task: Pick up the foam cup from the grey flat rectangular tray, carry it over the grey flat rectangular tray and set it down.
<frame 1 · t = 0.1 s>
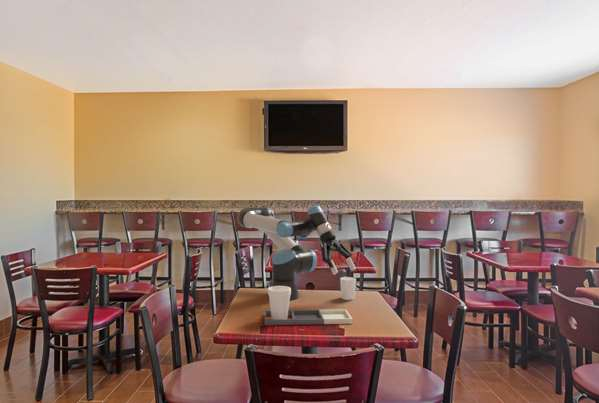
hand: (345, 271, 191), 15 cm above the table, tool tilted 35°, fingers open, 13 cm apart
white cup: (347, 298, 201), on the table
grey flat rectangular tray: (307, 319, 166), on the table
foam cup: (279, 320, 165), resting in grey flat rectangular tray
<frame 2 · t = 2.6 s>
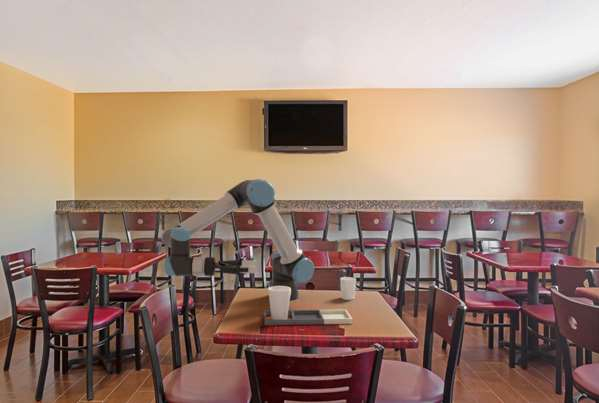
hand: (257, 266, 164), 22 cm above the table, tool horizontal, fingers open, 13 cm apart
nothing on the table moved.
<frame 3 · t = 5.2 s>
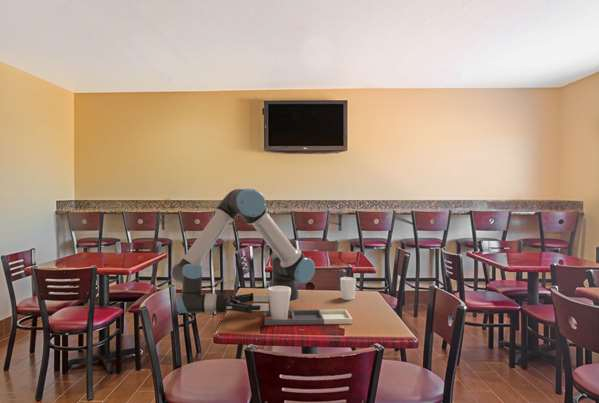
hand: (268, 302, 164), 7 cm above the table, tool horizontal, fingers open, 13 cm apart
nothing on the table moved.
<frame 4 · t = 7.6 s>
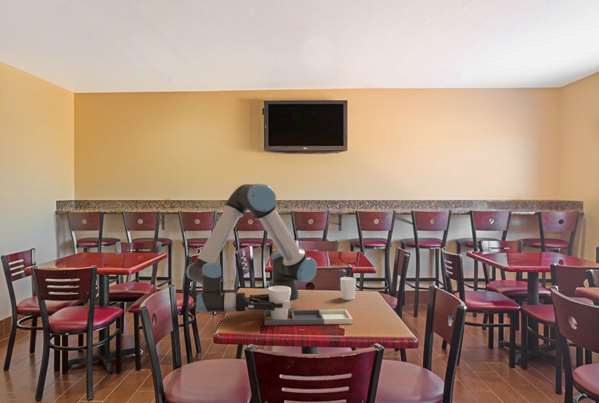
hand: (290, 301, 165), 8 cm above the table, tool horizontal, fingers closed on foam cup, 9 cm apart
foam cup: (279, 320, 165), resting in grey flat rectangular tray, touching gripper
everything else where it was.
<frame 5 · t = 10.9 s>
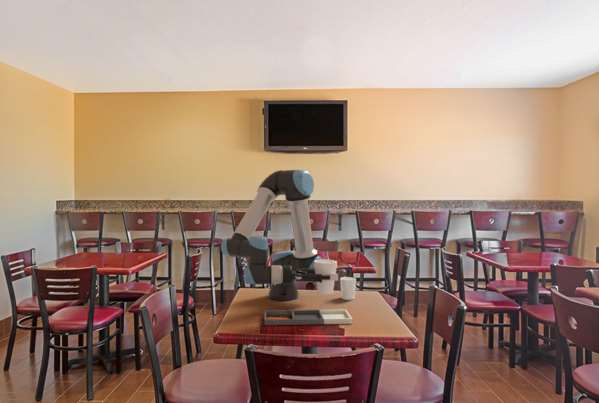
hand: (335, 274, 165), 19 cm above the table, tool horizontal, fingers closed on foam cup, 9 cm apart
foam cup: (325, 293, 165), point 11 cm above the table, touching gripper
everything else where it was.
when the fingers open (9 cm above the table, at t = 14.2 s): foam cup drops 1 cm, resting on grey flat rectangular tray.
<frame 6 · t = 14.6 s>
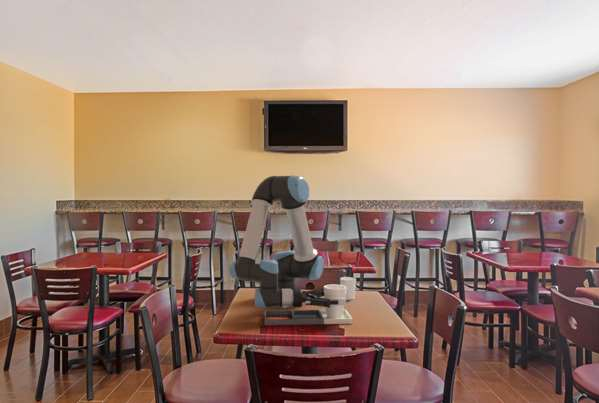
hand: (342, 297, 167), 9 cm above the table, tool horizontal, fingers open, 13 cm apart
foam cup: (334, 318, 167), resting on grey flat rectangular tray
everything else where it was.
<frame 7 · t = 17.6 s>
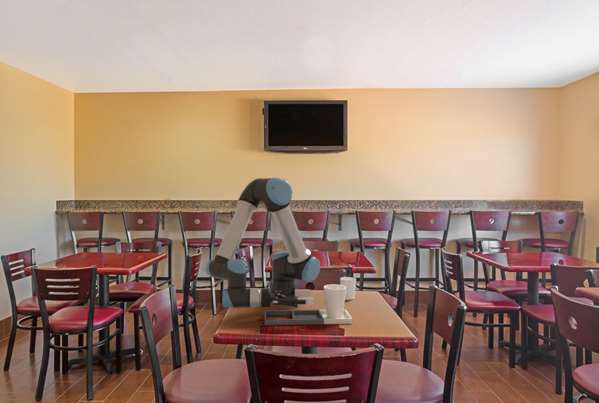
hand: (311, 296, 166), 9 cm above the table, tool horizontal, fingers open, 13 cm apart
nothing on the table moved.
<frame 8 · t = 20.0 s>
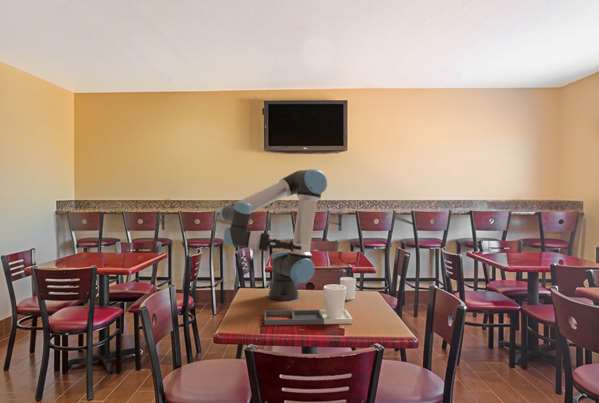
hand: (307, 248, 175), 28 cm above the table, tool horizontal, fingers open, 12 cm apart
nothing on the table moved.
at the end: foam cup inside the target area (0.1 cm from its centre), resting on grey flat rectangular tray; foam cup tilted 0°; the gripper is holding nothing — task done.
